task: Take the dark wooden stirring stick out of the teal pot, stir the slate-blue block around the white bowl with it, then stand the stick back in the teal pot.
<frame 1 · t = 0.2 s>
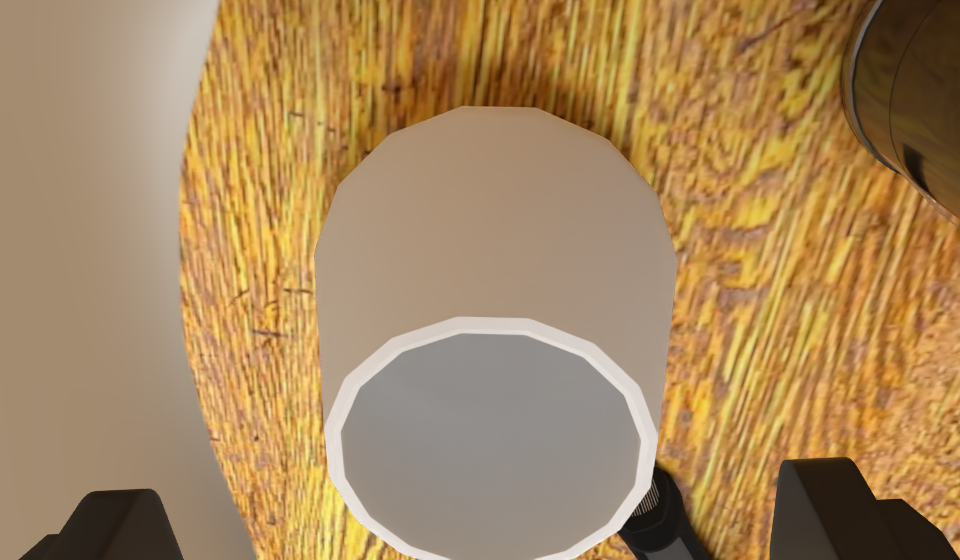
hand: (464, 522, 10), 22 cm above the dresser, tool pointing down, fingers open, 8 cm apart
cup: (495, 233, 33), on the dresser
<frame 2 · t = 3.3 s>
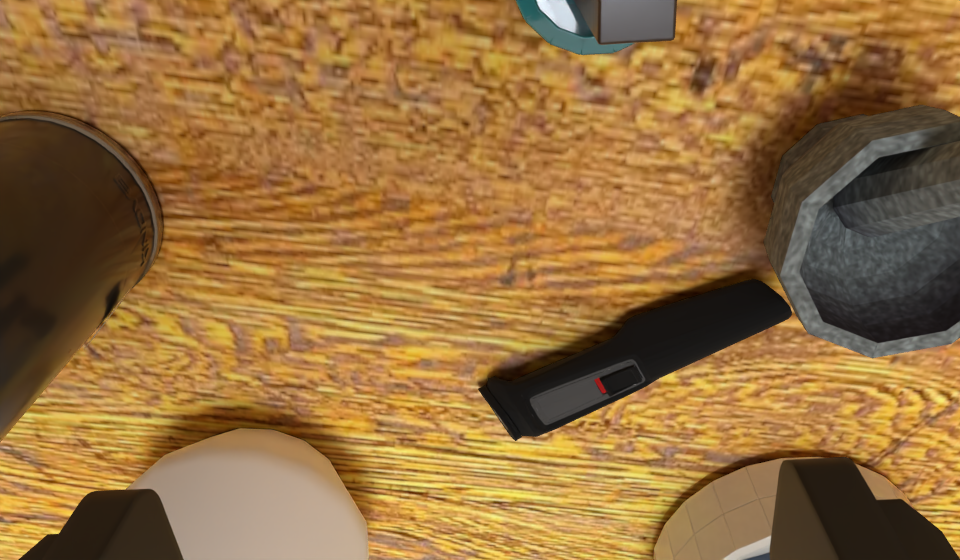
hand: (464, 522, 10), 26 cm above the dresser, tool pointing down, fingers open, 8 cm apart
mortar and pestle: (844, 165, 35), on the dresser
cup: (265, 487, 45), on the dresser
bowl: (779, 547, 46), on the dresser
electric trimmer: (616, 342, 39), on the dresser
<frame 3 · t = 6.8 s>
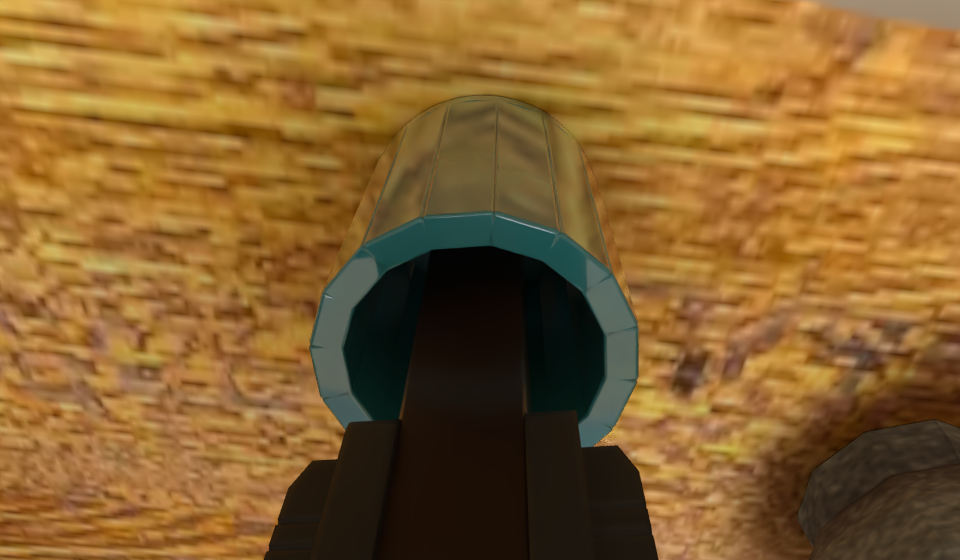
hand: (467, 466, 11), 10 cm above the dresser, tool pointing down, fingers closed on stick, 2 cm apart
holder: (484, 205, 19), on the dresser
mortar and pestle: (905, 478, 23), on the dresser
stick: (483, 211, 19), point 1 cm above the dresser, touching gripper
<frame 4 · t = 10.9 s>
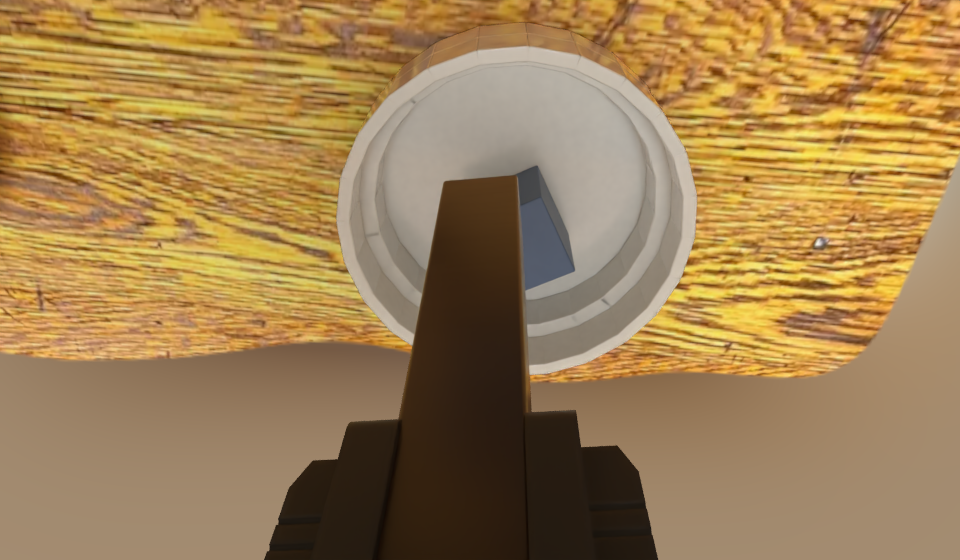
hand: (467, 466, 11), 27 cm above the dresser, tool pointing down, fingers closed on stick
bowl: (513, 182, 38), on the dresser
stick: (483, 211, 19), point 18 cm above the dresser, touching gripper
block: (515, 215, 38), point 1 cm above the dresser, touching bowl
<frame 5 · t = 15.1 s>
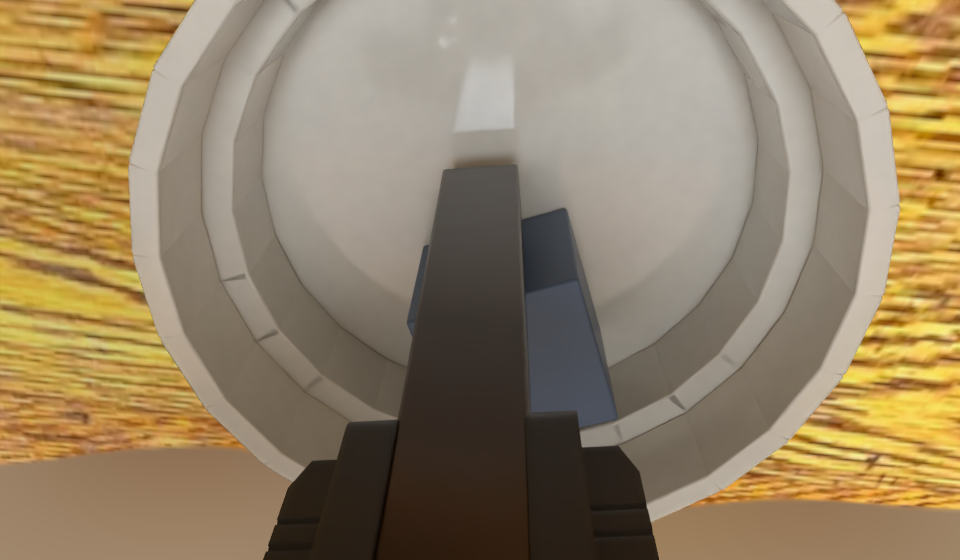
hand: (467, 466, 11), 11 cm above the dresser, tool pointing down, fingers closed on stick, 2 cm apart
bowl: (506, 179, 20), on the dresser
stick: (483, 200, 19), point 2 cm above the dresser, touching gripper
block: (513, 289, 21), point 1 cm above the dresser, touching bowl
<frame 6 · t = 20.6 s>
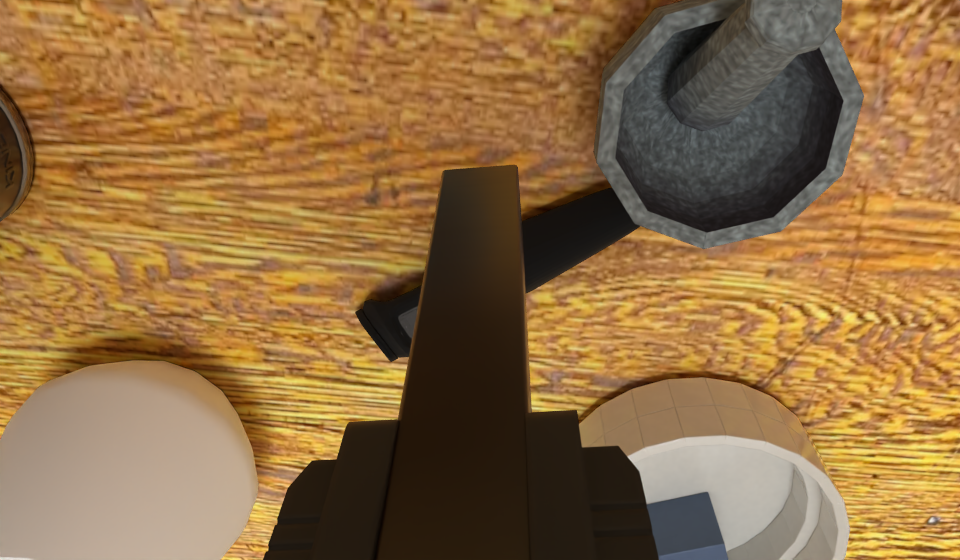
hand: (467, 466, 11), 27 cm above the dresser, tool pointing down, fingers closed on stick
mortar and pestle: (691, 68, 35), on the dresser
cup: (165, 422, 45), on the dresser
bowl: (680, 477, 46), on the dresser
electric trimmer: (488, 262, 40), on the dresser
stick: (483, 200, 19), point 18 cm above the dresser, touching gripper
block: (680, 521, 47), point 1 cm above the dresser, touching bowl
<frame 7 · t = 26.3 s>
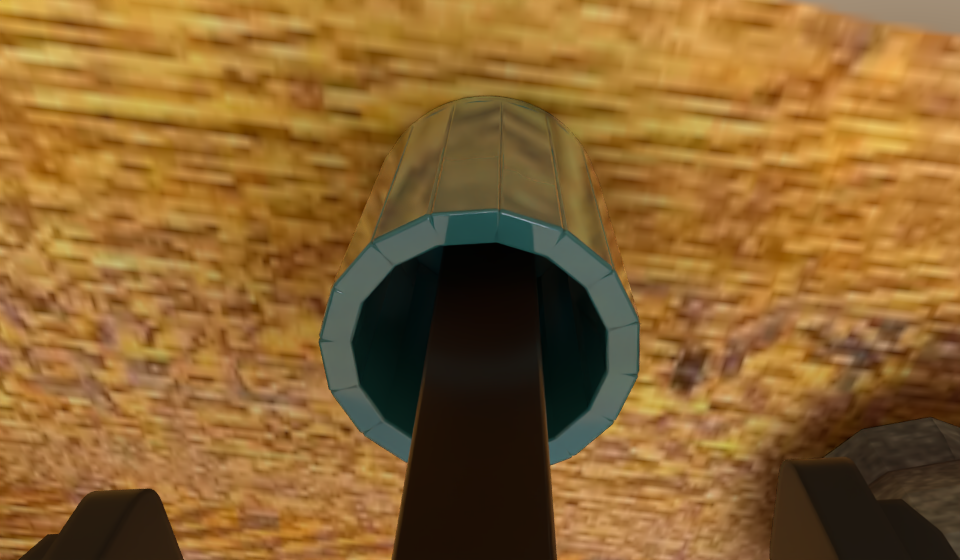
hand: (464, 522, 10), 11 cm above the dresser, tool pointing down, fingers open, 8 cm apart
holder: (488, 204, 20), on the dresser
mortar and pestle: (901, 475, 24), on the dresser
stick: (494, 205, 19), resting on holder
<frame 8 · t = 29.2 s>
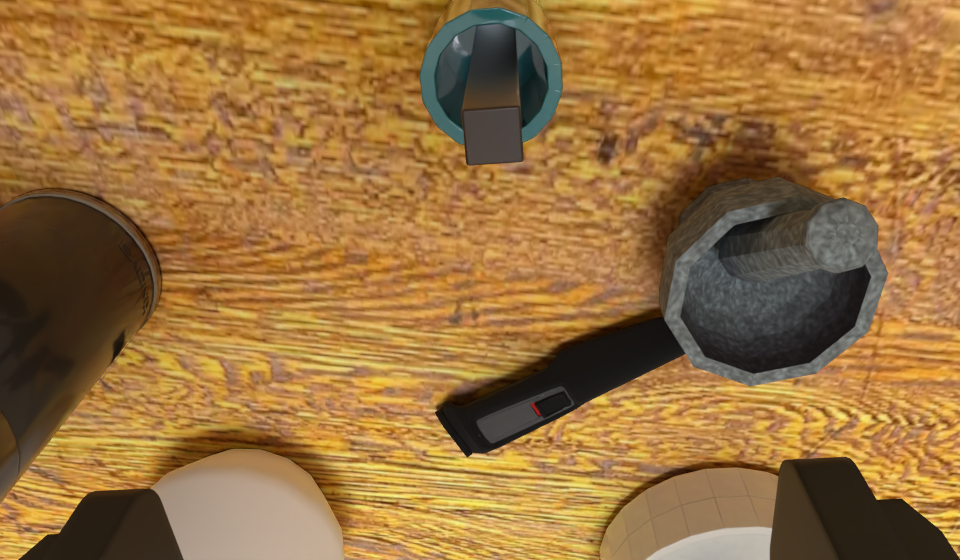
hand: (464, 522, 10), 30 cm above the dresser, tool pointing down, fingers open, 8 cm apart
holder: (493, 45, 37), on the dresser
mortar and pestle: (735, 219, 41), on the dresser
cup: (256, 499, 51), on the dresser
bowl: (712, 547, 52), on the dresser
electric trimmer: (553, 370, 45), on the dresser
stick: (496, 43, 36), resting on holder
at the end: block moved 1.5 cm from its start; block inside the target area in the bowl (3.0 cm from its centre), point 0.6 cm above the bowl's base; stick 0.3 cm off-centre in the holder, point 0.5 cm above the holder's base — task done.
